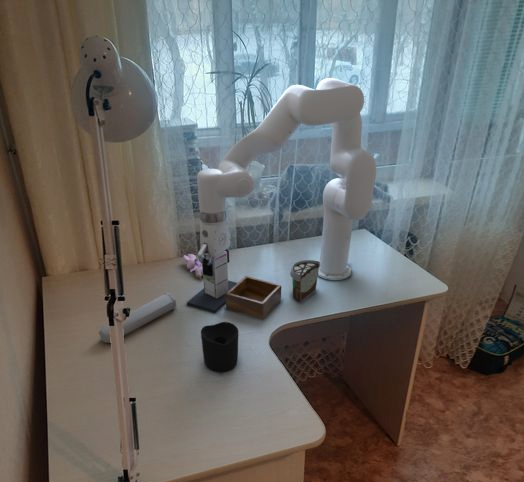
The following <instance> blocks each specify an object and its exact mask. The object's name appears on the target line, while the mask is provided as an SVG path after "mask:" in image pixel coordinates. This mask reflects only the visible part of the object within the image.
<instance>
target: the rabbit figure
mask: <svg viewBox="0 0 524 482" xmlns="http://www.w3.org/2000/svg"><path fill="white" fill-rule="evenodd" d="M182 257H183V260H184V261H185V262H186V268H187V269H188V270H189V274H191V273H192V272H195V276H196V278H198V279H199V280H200V281H201V280H203V278H202V277H203V268H202V263H201V262H200V261H199V258H198V257H197V256H196V255H195V254H193V253H188V254H184V255H183V256H182Z"/></svg>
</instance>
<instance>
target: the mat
mask: <svg viewBox="0 0 524 482" xmlns="http://www.w3.org/2000/svg"><path fill="white" fill-rule="evenodd" d="M237 283H238V282H236V281H231V280H228V290H230V289H231V288H233V287H234V286H235V285H236V284H237ZM186 305H187V306H190V307H194V308H196V309H199V310H203V311H206V312H210V313H213V314H216V313H217V312H218V311H219V310H220V309H221V308H222V307H223V306H225V305H226V294H225V295H223V296H221V297H219V298H217V299H216V298H214V297H212V296H210V295H208V294H206V293H204V288H203V289H201V290H200V291H198V293H196V294H194V296H193V297H191V298H190V299H189V300H188V301H187V302H186Z"/></svg>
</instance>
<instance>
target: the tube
mask: <svg viewBox="0 0 524 482" xmlns="http://www.w3.org/2000/svg"><path fill="white" fill-rule="evenodd" d="M176 307H177V300H176V299H175V298H174V296H173V294H171V293H169V292H167V291H165V292H164V294H162V295H160V296H158V297H156V298H154V299H152V300H150V301H149V302H147V303H145V304H142V305H141V306H139V307H137V308H135V309H133V310H131V311H130V312H131V313H130V316H129V318H128V319H127V320H126V321H125V322H124V324H123V329H124V336H123V337H126V336H127V335H128V334H130V333H132V332H134V331H136V330H138V329H140V328H141V327H143V326H145V325H146V324H149V323H151V322H152V321H155V320H156V319H158V318H159V317H161V316H164V315H165V314H166V313H169V312H170V311H174V310H175V309H176ZM98 335H99V338H100V339H101V342H104V343H106V344H111V343H110V334H109V326H108V323H106V324H105V325H102V327H101V328H100V330H99V331H98Z"/></svg>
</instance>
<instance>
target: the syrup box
mask: <svg viewBox="0 0 524 482" xmlns="http://www.w3.org/2000/svg"><path fill="white" fill-rule="evenodd" d="M208 254H209V252H208ZM206 259H207V260H208V259H209V256H206ZM211 264H212V268H213V276H212V277H211V276H207V275H204V274H203V276H202V277H203V278H202V280H203V289H204V293H206V294H208V295H210V296H212V297H214V298H216V299H217V298H219V297H221V296H223V295H225V294H226V293H227V292H228V291H229V290H228V281H229V271H228V270H229V269H228V267H229V266H228V263H227V251H224V252H222V253H221V254H220V255H218V256H217V257H213V258H212V261H211Z"/></svg>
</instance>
